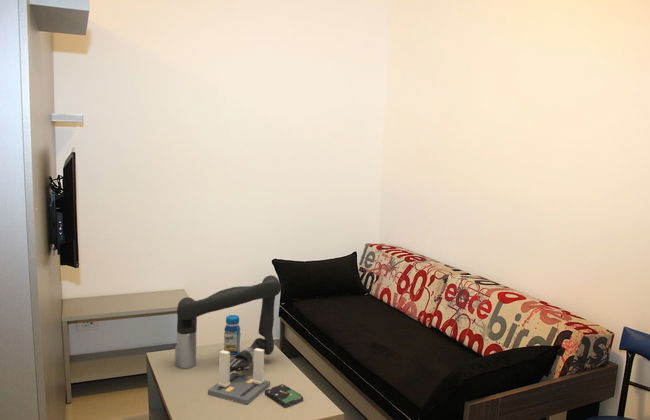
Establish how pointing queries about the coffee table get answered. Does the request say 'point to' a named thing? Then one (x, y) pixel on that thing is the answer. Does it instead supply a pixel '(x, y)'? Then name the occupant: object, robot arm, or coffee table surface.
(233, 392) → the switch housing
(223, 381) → the beige square pillar
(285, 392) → the disk drive
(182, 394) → the coffee table surface
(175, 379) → the coffee table surface
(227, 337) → the beverage bottle
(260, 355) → the beige tall rectangular block
